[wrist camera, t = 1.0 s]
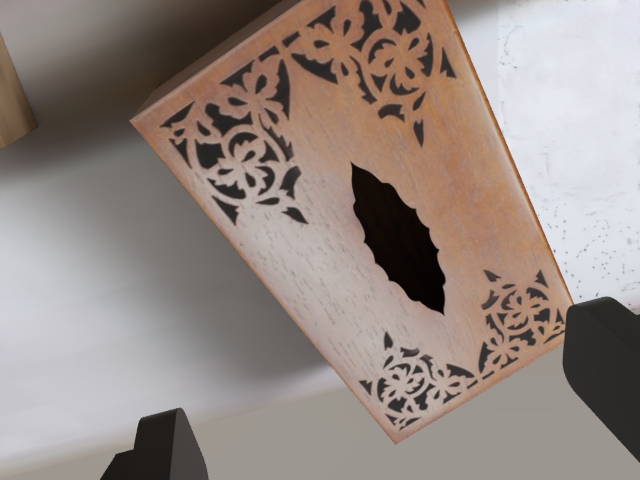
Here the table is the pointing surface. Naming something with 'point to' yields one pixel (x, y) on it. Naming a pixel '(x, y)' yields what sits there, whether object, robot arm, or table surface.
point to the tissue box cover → (369, 197)
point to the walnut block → (12, 103)
